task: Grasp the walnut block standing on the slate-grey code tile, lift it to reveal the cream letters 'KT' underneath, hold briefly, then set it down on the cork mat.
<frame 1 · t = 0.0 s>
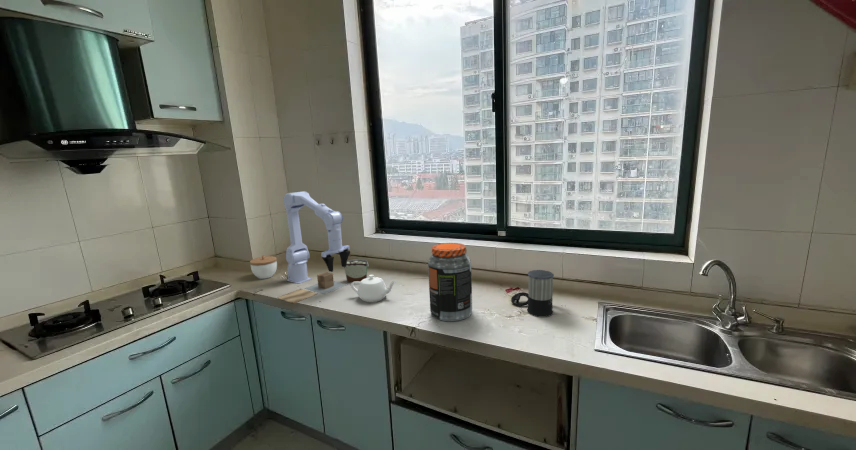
hand: (337, 268, 161), 10 cm above the worktop, fingers open, 7 cm apart
walnut block: (326, 286, 168), resting on code tile
teapot: (374, 298, 153), on the worktop
code tile: (326, 287, 168), on the worktop
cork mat: (297, 296, 158), on the worktop
supplement tub: (451, 314, 135), on the worktop
milk frother: (531, 308, 137), on the worktop
food container: (358, 280, 176), on the worktop
lidded bowl: (265, 276, 187), on the worktop
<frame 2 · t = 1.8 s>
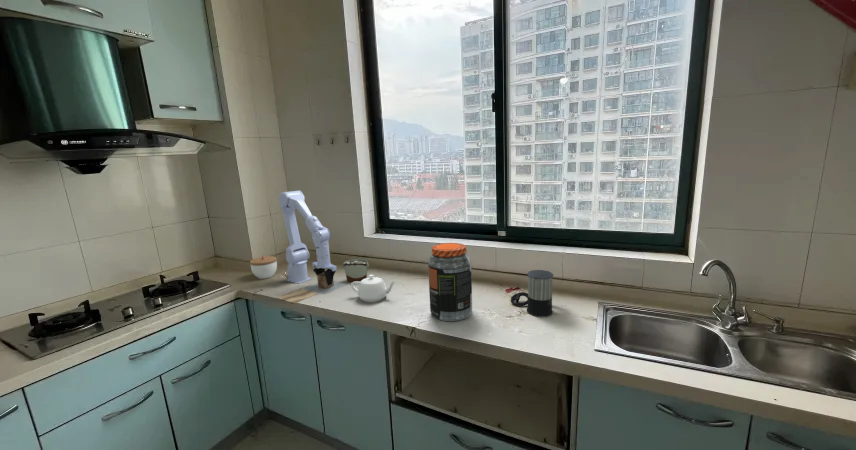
hand: (325, 283, 168), 2 cm above the worktop, fingers closed on walnut block, 5 cm apart
walnut block: (326, 286, 168), resting on code tile, touching gripper
everything else where it was.
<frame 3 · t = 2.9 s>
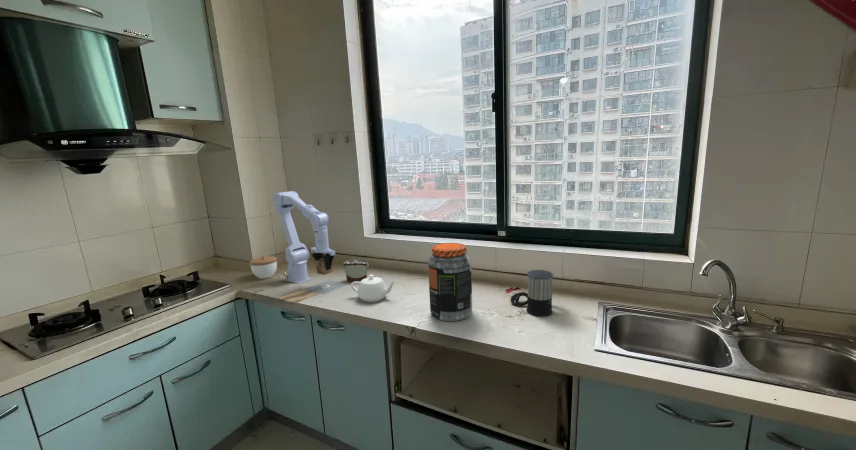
hand: (324, 268, 167), 9 cm above the worktop, fingers closed on walnut block, 5 cm apart
walnut block: (324, 272, 167), point 7 cm above the worktop, touching gripper
everything else where it was.
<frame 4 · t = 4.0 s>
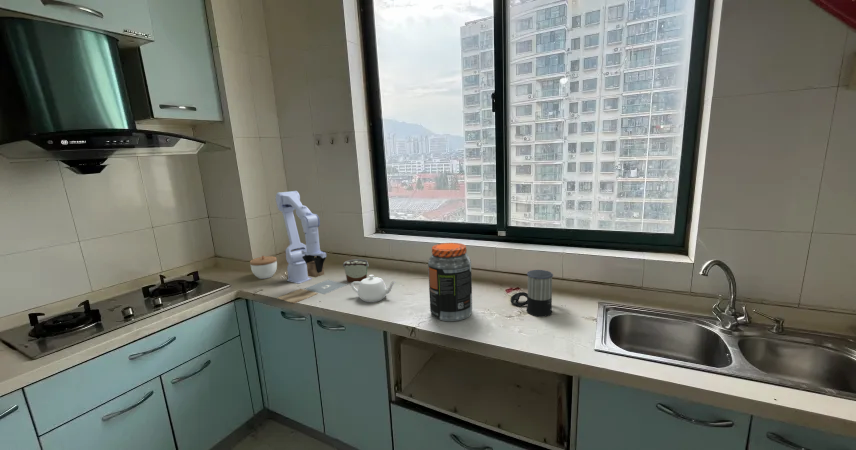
hand: (315, 271, 163), 9 cm above the worktop, fingers closed on walnut block, 5 cm apart
walnut block: (316, 275, 164), point 7 cm above the worktop, touching gripper
everything else where it was.
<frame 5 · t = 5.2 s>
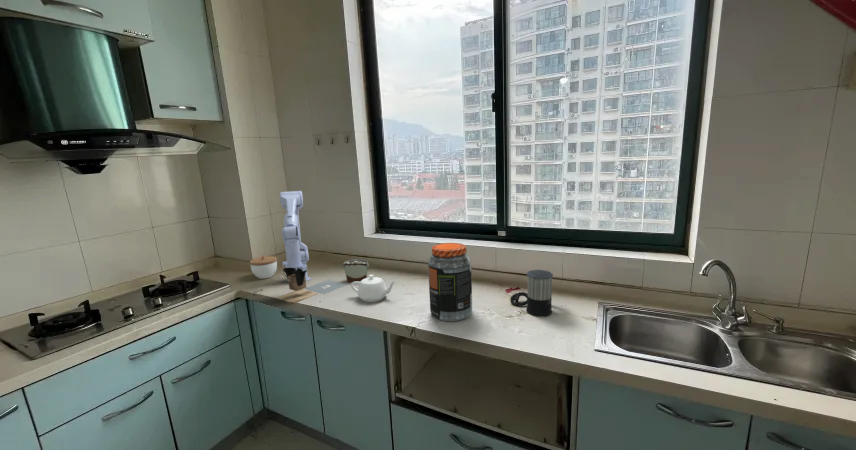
hand: (296, 284, 157), 6 cm above the worktop, fingers closed on walnut block, 5 cm apart
walnut block: (297, 288, 158), point 4 cm above the worktop, touching gripper
everything else where it was.
when the fingers open (4 cm above the worktop, at t = 6.1 s): walnut block drops 1 cm, resting on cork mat.
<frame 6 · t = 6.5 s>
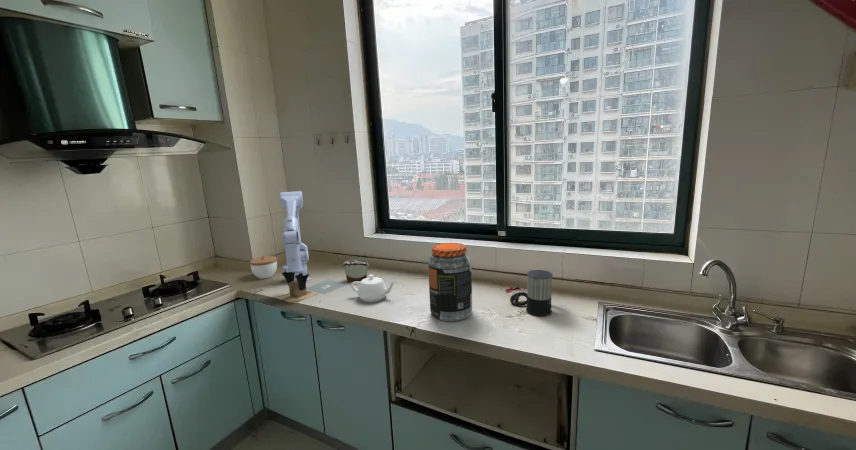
hand: (296, 288, 157), 4 cm above the worktop, fingers open, 7 cm apart
walnut block: (298, 295, 158), resting on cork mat
everything else where it was.
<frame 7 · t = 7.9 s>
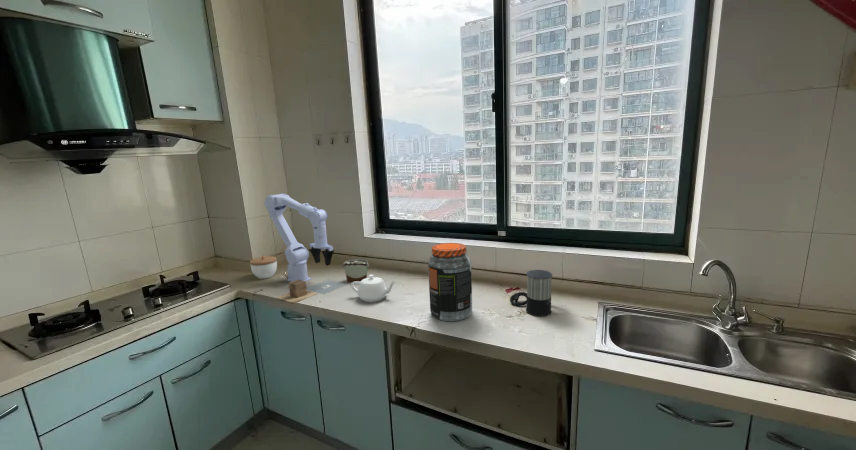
hand: (322, 263, 171), 10 cm above the worktop, fingers open, 7 cm apart
nothing on the worktop moved.
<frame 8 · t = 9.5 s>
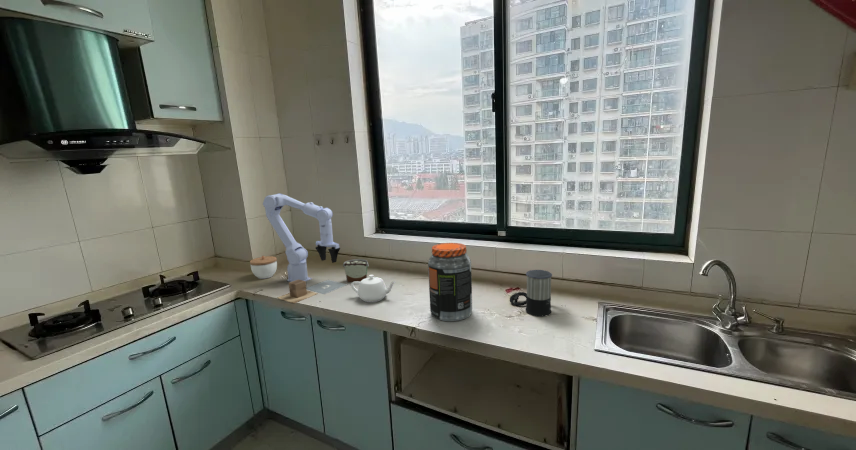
hand: (328, 261, 175), 10 cm above the worktop, fingers open, 7 cm apart
nothing on the worktop moved.
at the end: walnut block inside the target area (0.4 cm from its centre), resting on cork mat; walnut block tilted 0°; the gripper is holding nothing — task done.
